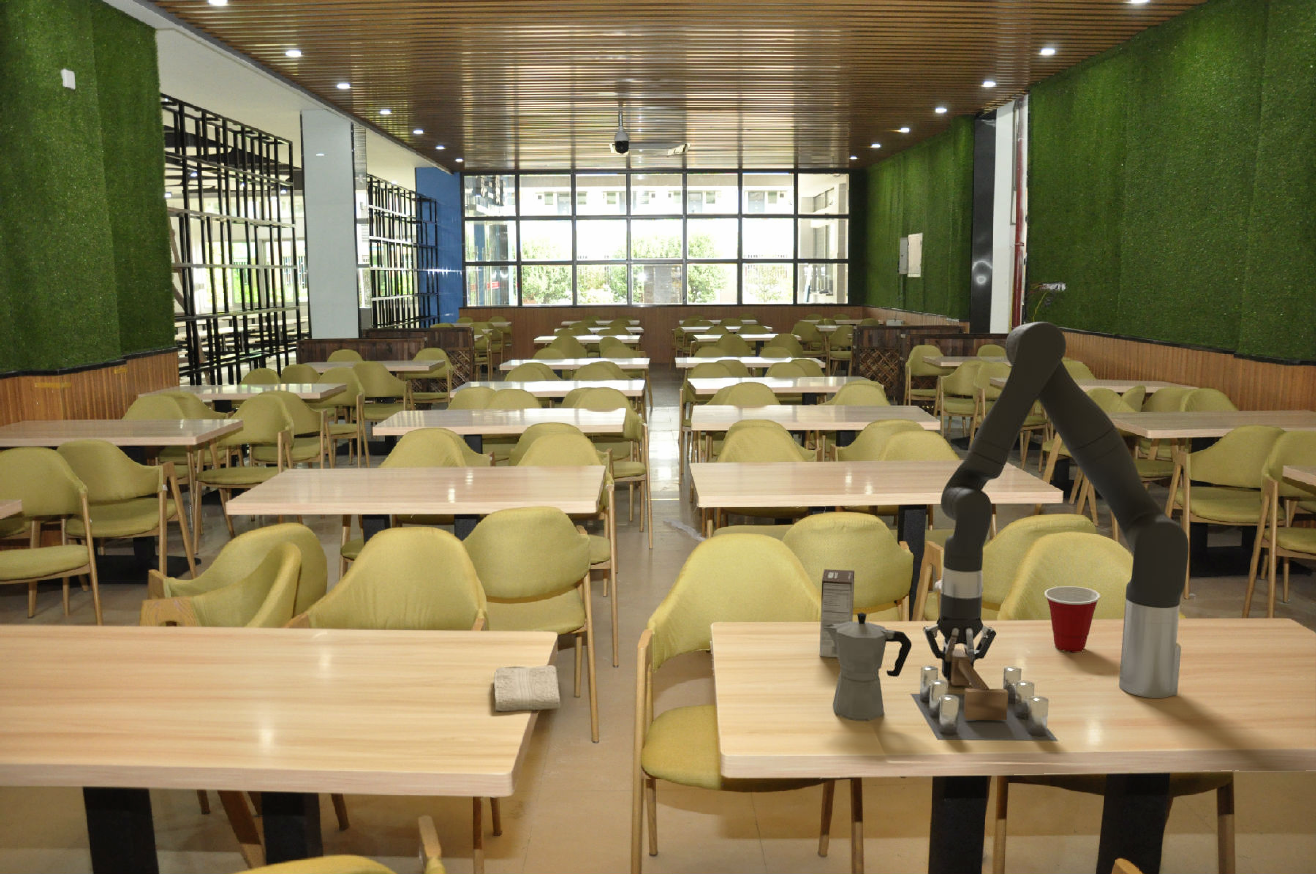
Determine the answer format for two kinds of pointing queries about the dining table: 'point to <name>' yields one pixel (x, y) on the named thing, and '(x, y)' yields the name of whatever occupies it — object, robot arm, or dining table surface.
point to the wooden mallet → (977, 691)
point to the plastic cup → (1071, 615)
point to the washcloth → (526, 688)
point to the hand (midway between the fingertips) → (956, 678)
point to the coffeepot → (863, 666)
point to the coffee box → (835, 605)
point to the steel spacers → (1017, 689)
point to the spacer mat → (983, 725)
